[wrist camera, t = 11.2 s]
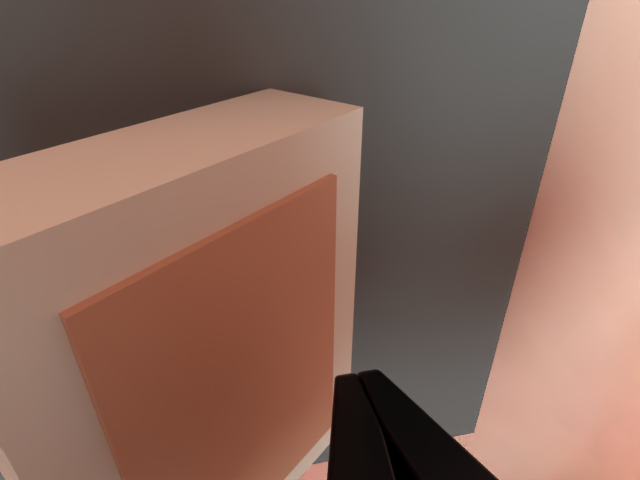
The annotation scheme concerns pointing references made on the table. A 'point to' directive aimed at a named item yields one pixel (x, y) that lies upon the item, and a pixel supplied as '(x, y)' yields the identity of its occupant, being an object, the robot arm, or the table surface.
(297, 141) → the cream rectangular block
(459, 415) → the charcoal mat
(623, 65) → the table surface
